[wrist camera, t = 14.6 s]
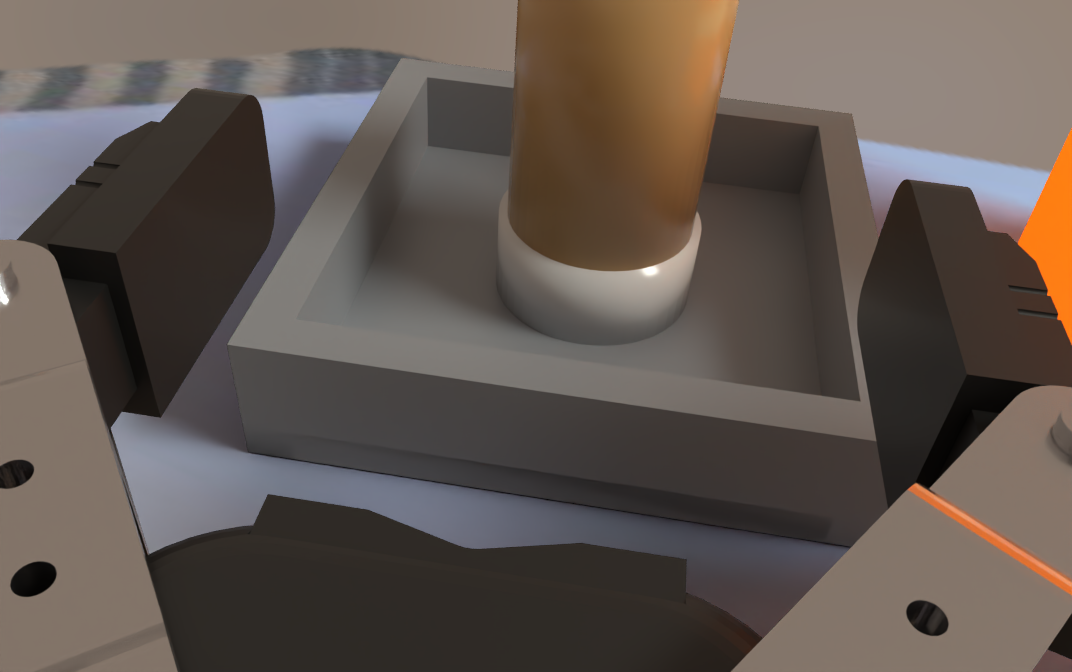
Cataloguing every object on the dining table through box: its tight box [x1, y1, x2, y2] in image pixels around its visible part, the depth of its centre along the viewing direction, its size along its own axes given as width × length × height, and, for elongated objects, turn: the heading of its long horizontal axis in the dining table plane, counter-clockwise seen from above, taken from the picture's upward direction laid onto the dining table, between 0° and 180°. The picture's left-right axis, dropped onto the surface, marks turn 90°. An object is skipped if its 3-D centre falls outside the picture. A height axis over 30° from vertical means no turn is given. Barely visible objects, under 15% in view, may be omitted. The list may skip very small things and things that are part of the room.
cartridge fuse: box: [496, 0, 739, 346], centre depth 20 cm, size 5×5×13 cm
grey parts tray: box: [227, 58, 888, 547], centre depth 24 cm, size 13×13×3 cm
